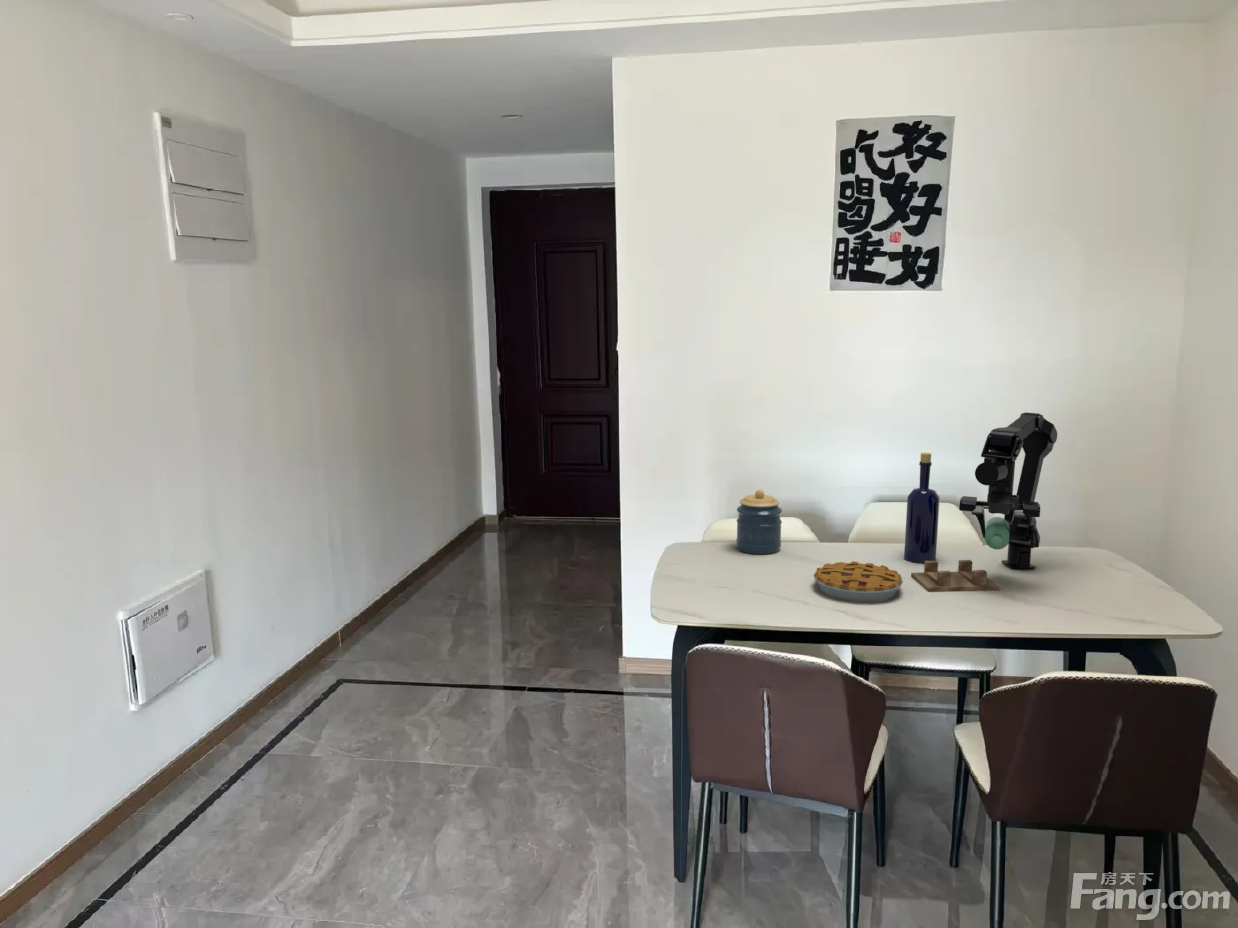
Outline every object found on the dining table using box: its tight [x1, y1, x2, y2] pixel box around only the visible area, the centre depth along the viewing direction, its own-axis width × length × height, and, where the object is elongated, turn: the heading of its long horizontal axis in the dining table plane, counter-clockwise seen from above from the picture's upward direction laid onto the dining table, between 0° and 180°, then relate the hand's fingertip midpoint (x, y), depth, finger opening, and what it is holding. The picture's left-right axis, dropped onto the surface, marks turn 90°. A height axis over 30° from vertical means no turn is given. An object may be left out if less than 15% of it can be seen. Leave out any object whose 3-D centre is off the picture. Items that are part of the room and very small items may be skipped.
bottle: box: [903, 452, 941, 565], centre depth 245 cm, size 9×9×30 cm
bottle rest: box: [910, 559, 1001, 593], centre depth 227 cm, size 18×12×4 cm, turn 92°
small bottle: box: [984, 516, 1009, 550], centre depth 225 cm, size 16×6×6 cm, turn 156°
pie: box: [813, 560, 904, 603], centre depth 223 cm, size 22×22×5 cm
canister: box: [735, 489, 783, 555], centre depth 258 cm, size 13×13×18 cm
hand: (996, 539), depth 226 cm, fingers closed on small bottle, 6 cm apart
